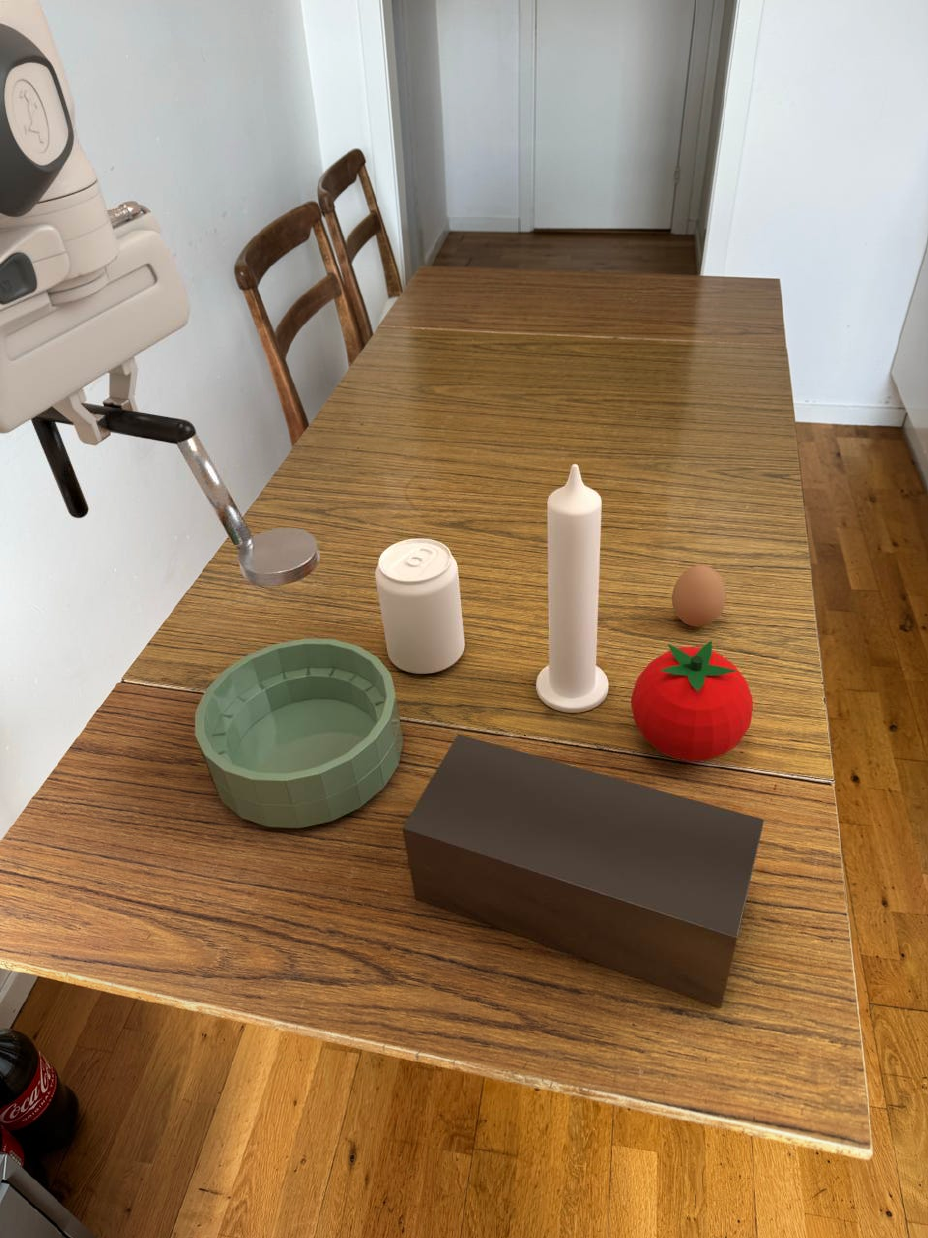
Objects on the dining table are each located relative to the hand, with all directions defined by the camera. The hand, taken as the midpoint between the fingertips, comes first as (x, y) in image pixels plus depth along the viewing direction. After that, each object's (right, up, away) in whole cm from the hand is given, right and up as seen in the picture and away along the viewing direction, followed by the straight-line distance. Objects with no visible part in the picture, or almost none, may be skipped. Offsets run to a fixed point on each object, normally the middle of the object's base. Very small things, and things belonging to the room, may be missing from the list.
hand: (111, 430), depth 66 cm
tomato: (+47, -25, +15) cm, 55 cm away
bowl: (+12, -27, +17) cm, 34 cm away
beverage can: (+22, -18, +27) cm, 39 cm away
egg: (+51, -15, +28) cm, 60 cm away
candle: (+37, -21, +22) cm, 48 cm away
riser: (+35, -36, +3) cm, 50 cm away
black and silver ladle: (+4, -8, +4) cm, 10 cm away
